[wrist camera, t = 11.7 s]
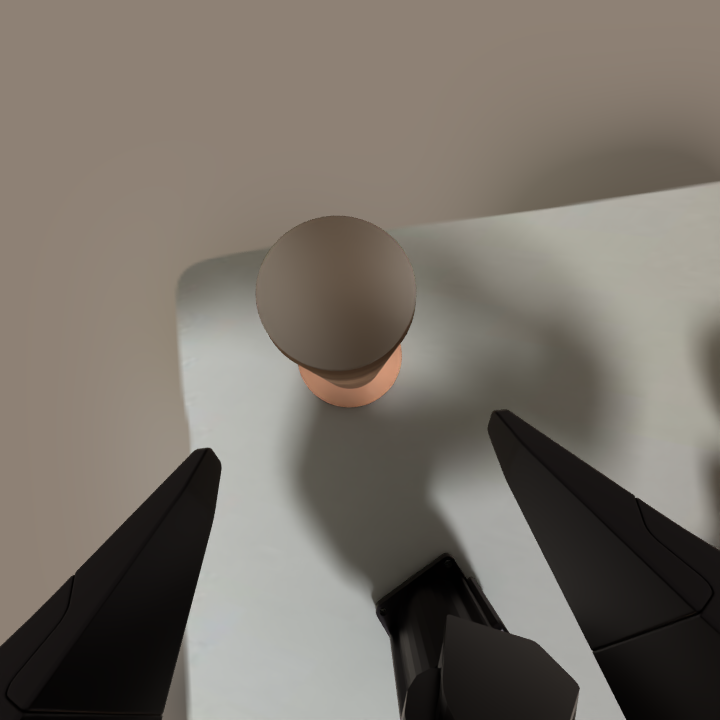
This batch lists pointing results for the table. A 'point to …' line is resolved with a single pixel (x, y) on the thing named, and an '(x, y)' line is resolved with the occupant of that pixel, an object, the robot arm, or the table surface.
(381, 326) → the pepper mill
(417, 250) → the table surface
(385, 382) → the coaster
